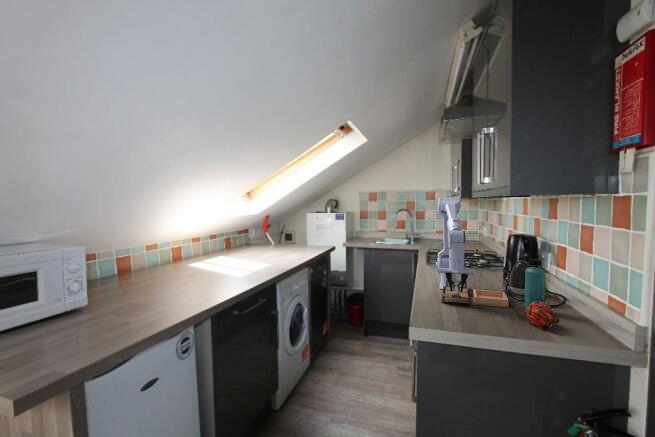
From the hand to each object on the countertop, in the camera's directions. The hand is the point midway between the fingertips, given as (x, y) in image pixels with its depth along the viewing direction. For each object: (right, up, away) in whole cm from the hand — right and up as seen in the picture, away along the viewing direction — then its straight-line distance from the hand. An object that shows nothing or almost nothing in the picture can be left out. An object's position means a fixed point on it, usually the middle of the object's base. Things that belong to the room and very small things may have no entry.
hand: (456, 291), depth 130 cm
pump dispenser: (+34, -4, +10) cm, 36 cm away
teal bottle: (+25, -5, -11) cm, 28 cm away
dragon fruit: (+19, -6, -24) cm, 31 cm away
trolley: (+2, -5, +6) cm, 8 cm away
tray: (+14, -5, +1) cm, 15 cm away
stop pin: (0, -4, 0) cm, 4 cm away
